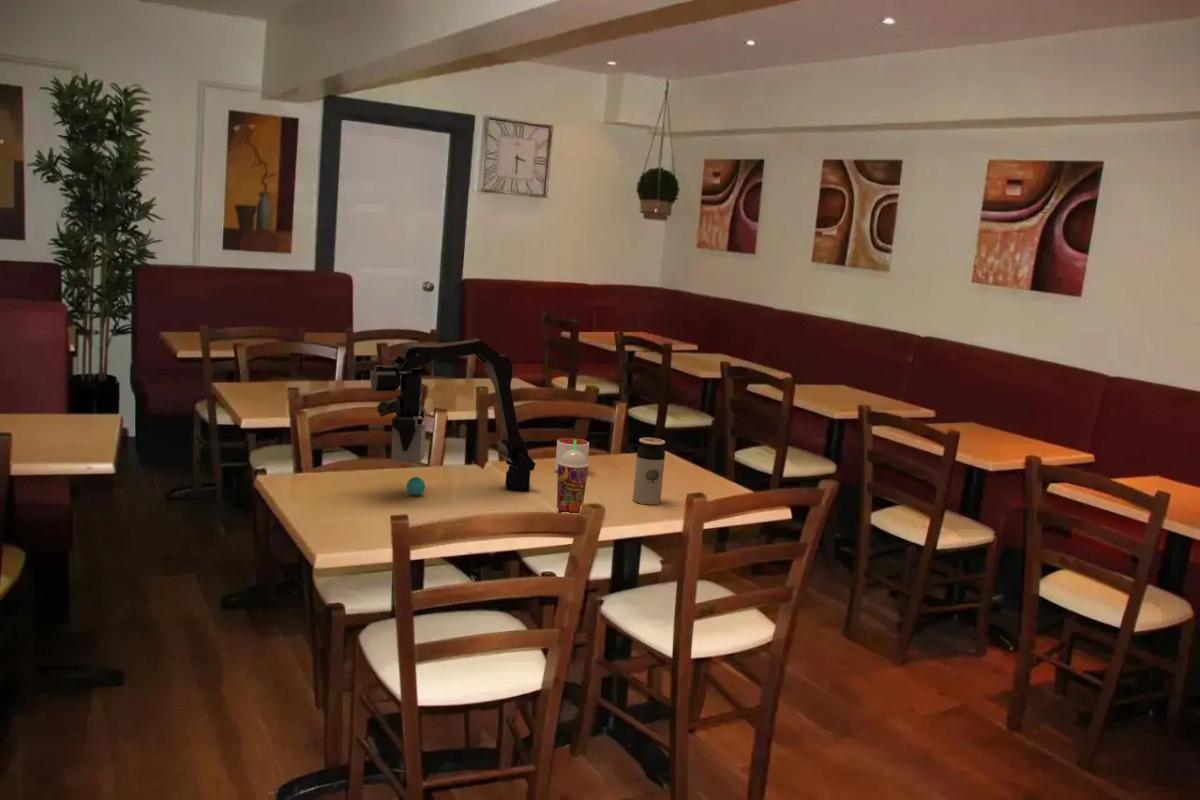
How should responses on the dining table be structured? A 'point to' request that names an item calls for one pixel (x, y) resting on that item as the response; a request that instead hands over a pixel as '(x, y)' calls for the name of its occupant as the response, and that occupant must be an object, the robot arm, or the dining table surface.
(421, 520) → the dining table surface
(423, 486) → the ball
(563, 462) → the smoothie
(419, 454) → the grey matte cube
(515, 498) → the dining table surface
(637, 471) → the travel mug
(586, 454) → the cup
